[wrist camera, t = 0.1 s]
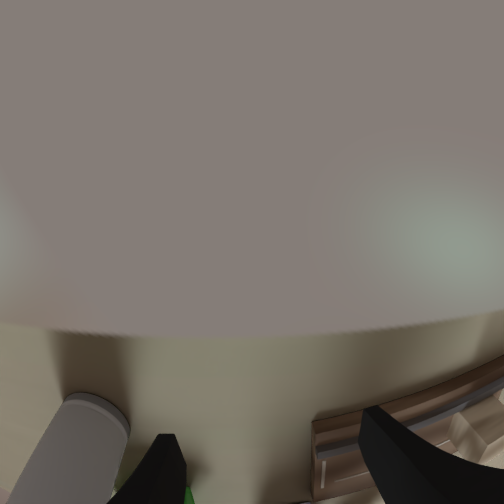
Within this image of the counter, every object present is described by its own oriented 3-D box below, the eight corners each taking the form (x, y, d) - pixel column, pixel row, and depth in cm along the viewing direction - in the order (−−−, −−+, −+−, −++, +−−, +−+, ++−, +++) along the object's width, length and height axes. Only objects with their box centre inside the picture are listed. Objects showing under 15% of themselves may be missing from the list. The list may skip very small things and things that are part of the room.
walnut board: (475, 431, 26) (484, 441, 24) (310, 492, 25) (314, 507, 23) (503, 355, 23) (516, 364, 21) (311, 421, 22) (317, 441, 20)
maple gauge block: (477, 422, 24) (505, 452, 18) (444, 438, 23) (471, 474, 18) (489, 391, 22) (521, 422, 17) (456, 409, 22) (487, 445, 16)
